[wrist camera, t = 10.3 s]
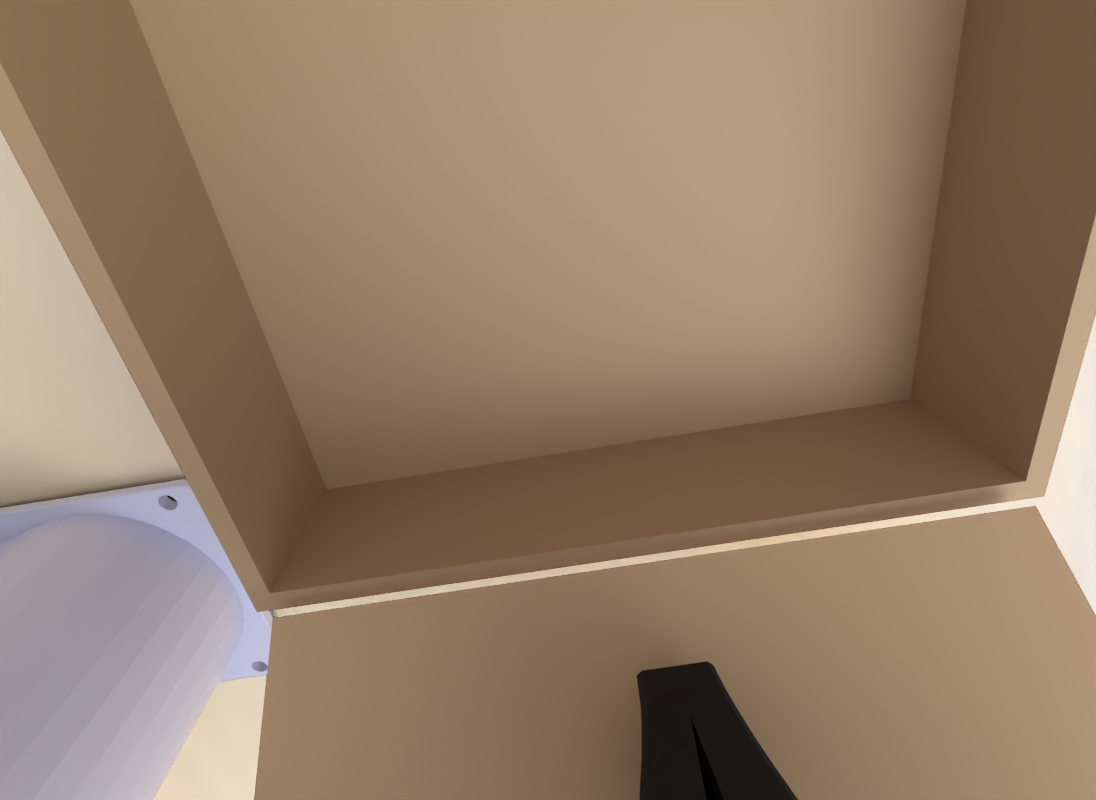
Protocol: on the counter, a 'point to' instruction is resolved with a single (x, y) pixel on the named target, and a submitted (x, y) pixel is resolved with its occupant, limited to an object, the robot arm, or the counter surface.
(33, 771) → the robot arm
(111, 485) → the counter surface
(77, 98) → the carton
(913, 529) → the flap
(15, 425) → the counter surface
